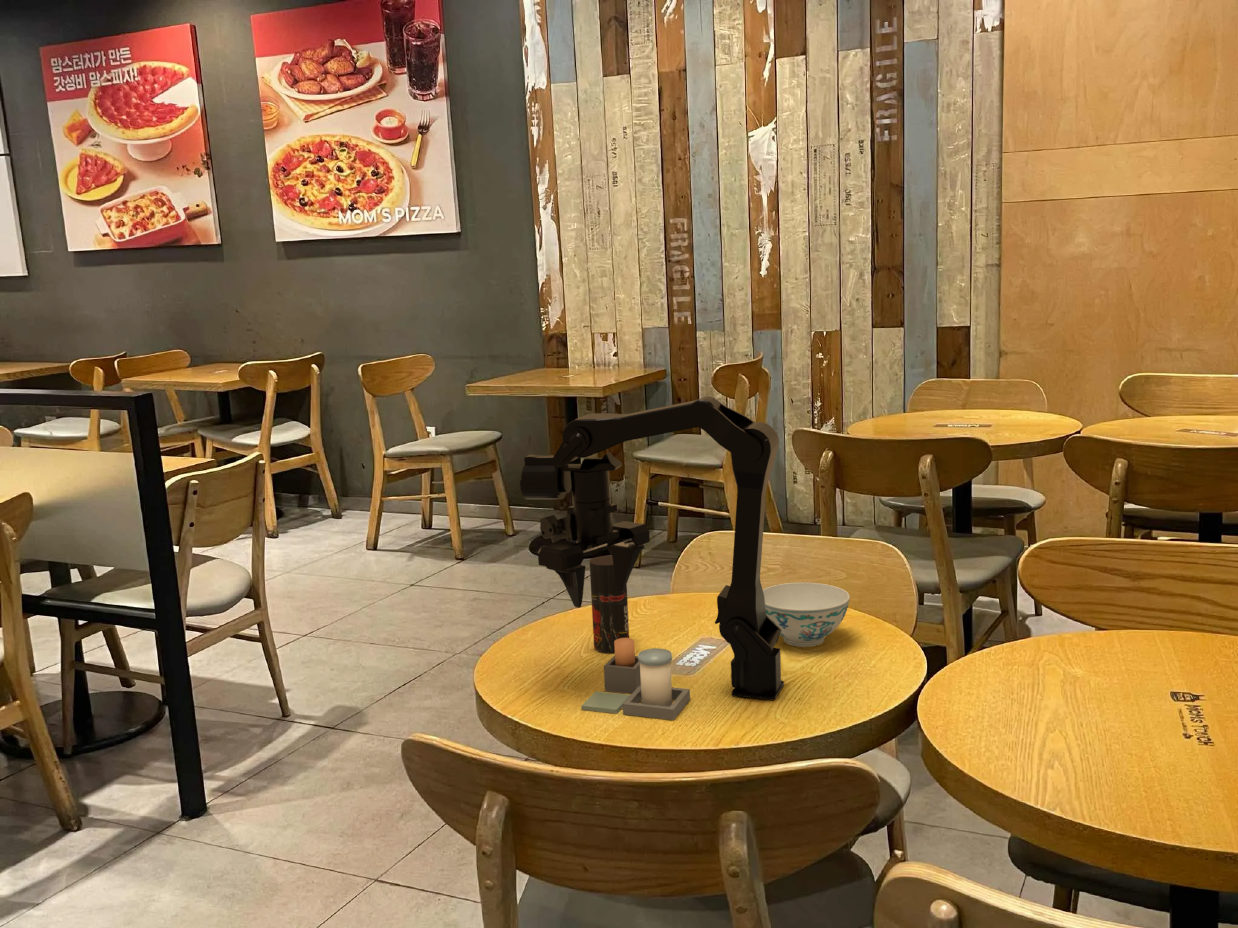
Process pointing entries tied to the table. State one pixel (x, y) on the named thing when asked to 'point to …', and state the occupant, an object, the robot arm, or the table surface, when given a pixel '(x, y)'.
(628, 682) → the box
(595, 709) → the coaster
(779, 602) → the chinaware
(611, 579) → the deodorant
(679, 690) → the socket
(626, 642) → the button
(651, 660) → the cylinder
